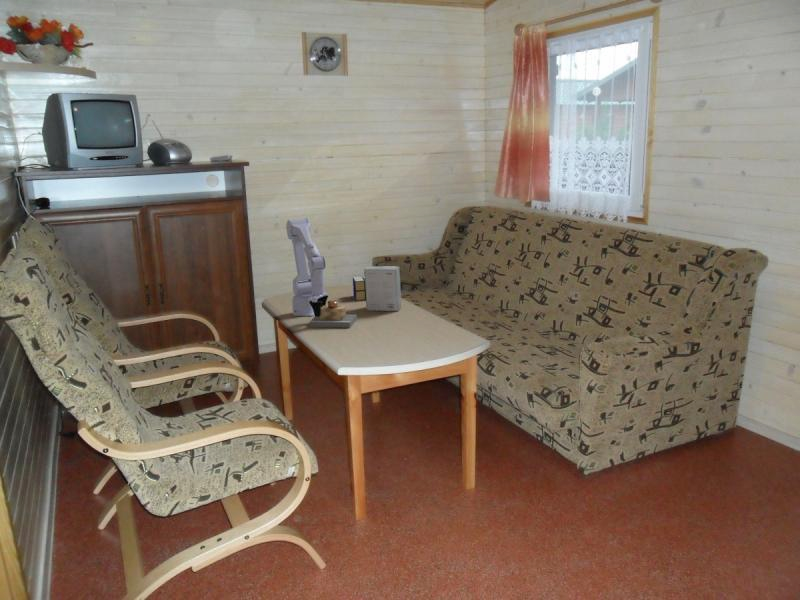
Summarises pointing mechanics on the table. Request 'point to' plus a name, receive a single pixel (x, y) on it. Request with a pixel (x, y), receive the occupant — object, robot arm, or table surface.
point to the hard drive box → (382, 288)
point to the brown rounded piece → (332, 304)
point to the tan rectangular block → (332, 313)
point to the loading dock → (333, 322)
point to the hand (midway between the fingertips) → (319, 313)
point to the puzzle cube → (359, 288)
